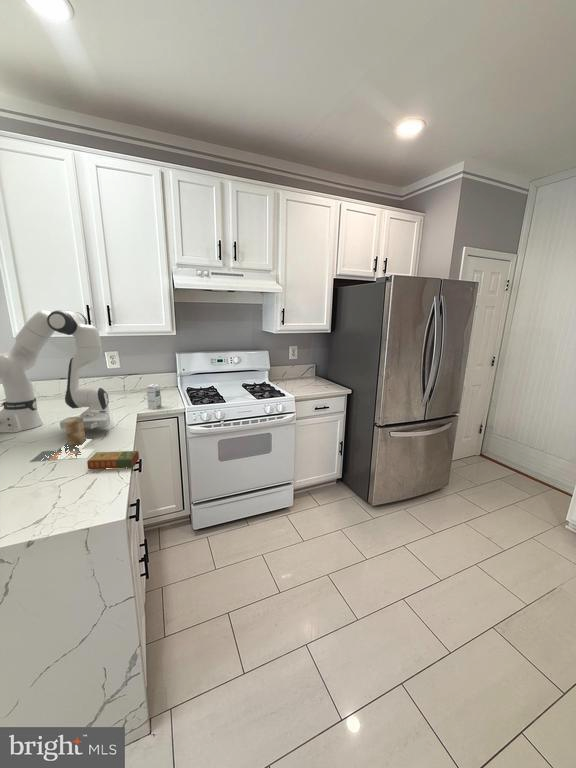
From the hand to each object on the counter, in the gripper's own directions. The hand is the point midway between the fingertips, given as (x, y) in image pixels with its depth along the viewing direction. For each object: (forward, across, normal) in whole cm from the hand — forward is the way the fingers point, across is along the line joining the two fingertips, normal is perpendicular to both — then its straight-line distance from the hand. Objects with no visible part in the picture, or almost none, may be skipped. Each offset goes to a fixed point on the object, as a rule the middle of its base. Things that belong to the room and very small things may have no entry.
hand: (78, 427), depth 145 cm
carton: (+28, +23, +7) cm, 36 cm away
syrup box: (-50, +23, +6) cm, 55 cm away
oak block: (+3, 0, +6) cm, 7 cm away
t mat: (+9, 0, +6) cm, 11 cm away
